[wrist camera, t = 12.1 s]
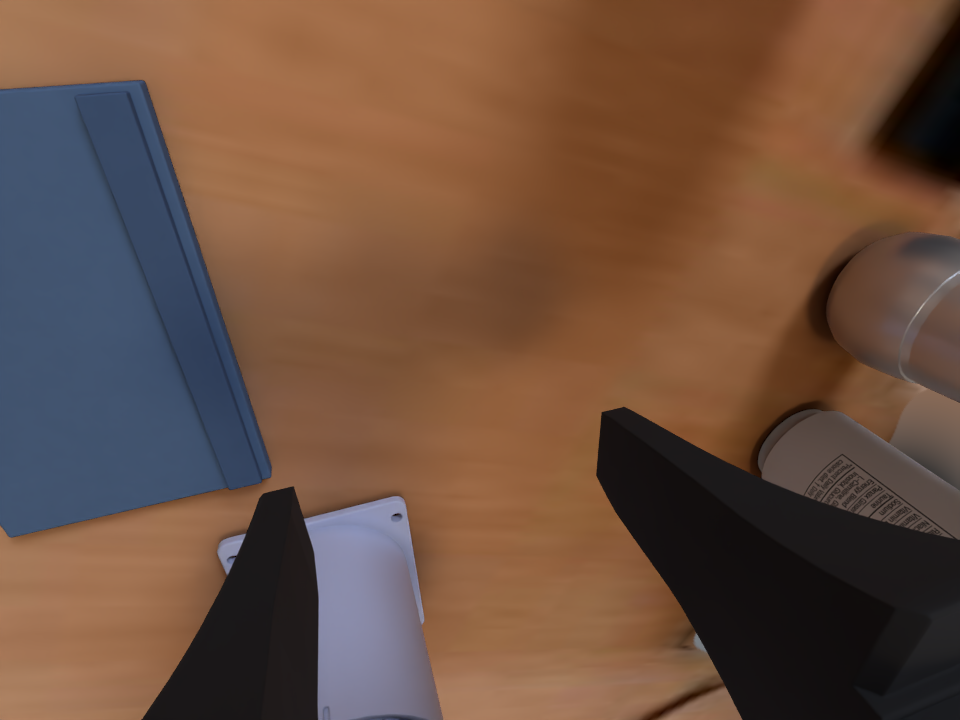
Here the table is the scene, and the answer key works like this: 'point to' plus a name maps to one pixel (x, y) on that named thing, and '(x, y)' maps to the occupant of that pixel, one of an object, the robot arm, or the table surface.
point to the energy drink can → (857, 473)
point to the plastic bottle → (903, 309)
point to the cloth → (107, 319)
